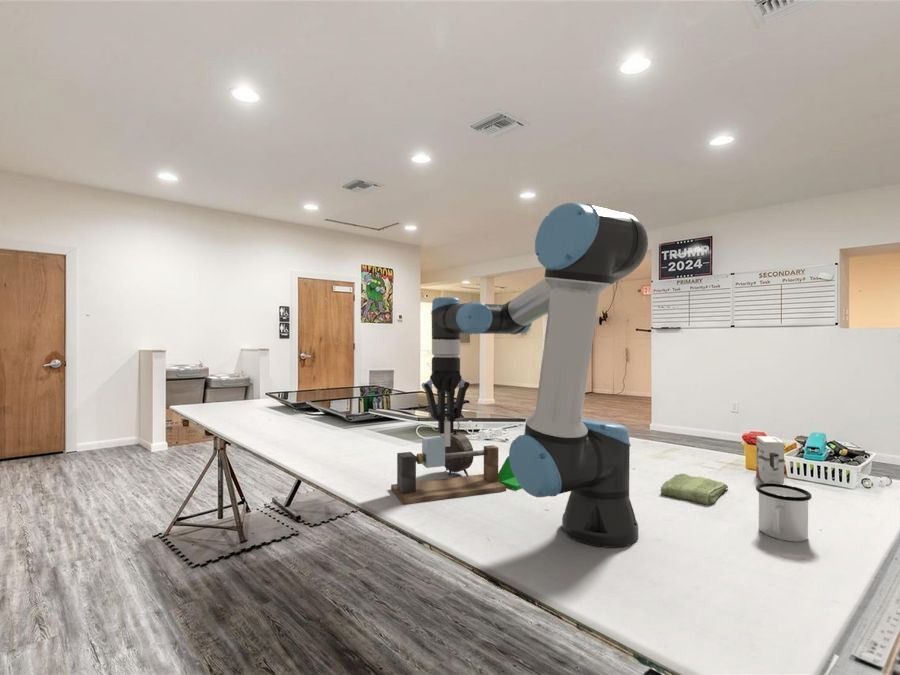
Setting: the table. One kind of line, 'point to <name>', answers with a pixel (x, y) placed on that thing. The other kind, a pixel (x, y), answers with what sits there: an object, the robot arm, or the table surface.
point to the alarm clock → (458, 445)
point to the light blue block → (433, 451)
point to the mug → (783, 511)
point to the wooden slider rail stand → (446, 487)
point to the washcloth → (693, 488)
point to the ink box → (770, 459)
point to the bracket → (508, 476)
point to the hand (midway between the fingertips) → (445, 445)
